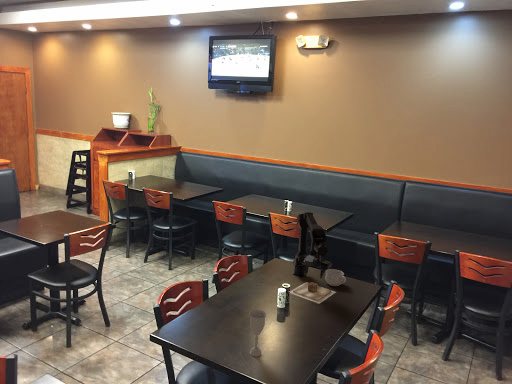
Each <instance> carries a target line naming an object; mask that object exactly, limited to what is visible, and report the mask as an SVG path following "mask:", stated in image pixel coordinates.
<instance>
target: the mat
mask: <svg viewBox="0 0 512 384" xmlns="http://www.w3.org/2000/svg"><path fill="white" fill-rule="evenodd" d="M306 283H307V281H305V282H304V283H302V284H301V285H299V286H297V287H295V288H293V289H291V290H289V292H290V293H289V294H290V295H294V296H296V297H300V298H302V299H304V300H308V301H311V302H314V303H315V304H319V305H320V304H321V303H322V302H324V301H326V300H327V299H329V298H330V297H332V296H333V295H335V294H336V293H337V291H334V290H332V291H331V293H329V294H328V295H326V296H325V297H323V298H322V299H320V300H319V301H316V300H313V299H310V298H307V297H304V296H302V295H299V294H296V293H293V291H294V290H295V289H297V288H299V287H300V286H302V285H304V284H306Z"/></svg>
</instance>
